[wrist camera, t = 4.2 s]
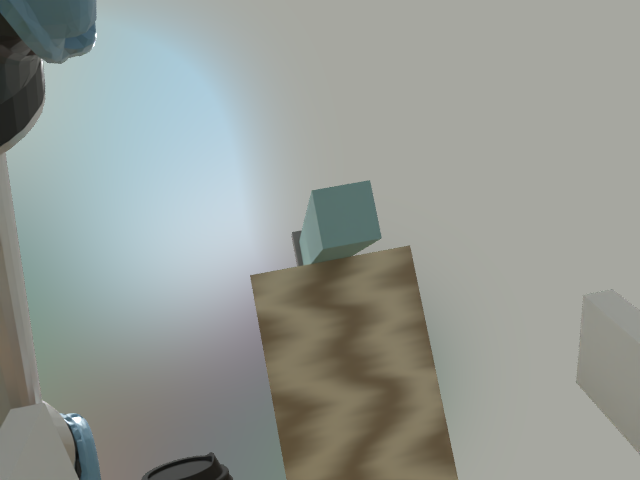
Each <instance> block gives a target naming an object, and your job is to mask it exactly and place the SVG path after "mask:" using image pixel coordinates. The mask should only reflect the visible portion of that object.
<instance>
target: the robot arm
mask: <svg viewBox="0 0 640 480" xmlns="http://www.w3.org/2000/svg"><path fill="white" fill-rule="evenodd" d="M95 21H96V0H0V480H101V476H100V469H99V462H98V456H97V451H96V447H95V443H94V438H93V435H92V432H91V429H90V427H89V425H88V423H87V421H86V420H85V419H84V418H83V417H82V416H80V415H79V414H75V413H71V414H61V413H59V412H58V411H57V410H56V409H54V408H53V407H52V406H50V405H49V404H48V403H46V402H44V401H43V400H42V396H41V390H40V383H39V376H38V370H37V364H36V356H35V350H34V343H33V336H32V330H31V323H30V316H29V309H28V302H27V296H26V289H25V283H24V277H23V269H22V262H21V256H20V249H19V242H18V235H17V228H16V221H15V215H14V208H13V201H12V195H11V188H10V181H9V175H8V167H7V161H6V154H5V152H6V151H8V150H9V149H11V148H12V147H13V146H14V145H15V144H16V143H18V142H19V141H20V140H21V139H22V138H24V137H25V136H26V134H27V133H28V132H29V131H30V130H31V129H32V127H33V126H34V125H35V123H36V122H37V120H38V118H39V116H40V115H41V113H42V110H43V106H44V102H45V79H44V66H43V60H45V61H46V62H47V63H58V64H61V63H63V62H65V61H66V60H67V59H68V58H71V57H75V56H81V55H83V54H86V53H88V52H89V51H90V50H91V49H92V48H93V47H94V44H95V41H96V38H97V37H96V36H97V34H96V29H95ZM576 383H577V384H578V385H579V386H580V387H581V388H582V390H583V391H584V392H585V393H586V394H587V395H588V396H589V398H590V399H591V400H592V401H593V402H594V403H595V404H596V405H597V407H598V408H599V409H600V410H601V411H602V412H603V413H604V414H605V416H606V417H607V418H608V419H609V420H610V421H611V422H612V424H613V425H614V426H615V427H616V428H617V429H618V430H619V431H620V433H621V434H622V435H623V436H624V437H625V438H626V439H627V441H628V442H629V443H630V444H631V445H632V446H633V447H634V448H635V450H636V451H637V452H638V453H639V454H640V310H638V309H637V308H636V307H634V306H633V305H632V304H631V303H629V302H628V301H627V300H626V299H624V298H623V297H622V296H620V295H619V294H618V293H617V292H615V291H614V290H612V289H611V290H606V291H601V292H596V293H591V294H587V295H584V296H583V306H582V319H581V331H580V343H579V356H578V368H577V380H576Z"/></svg>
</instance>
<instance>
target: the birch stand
mask: <svg viewBox="0 0 640 480" xmlns="http://www.w3.org/2000/svg"><path fill="white" fill-rule="evenodd" d="M250 277H251V283H252V289H253V294H254V300H255V305H256V311H257V317H258V322H259V328H260V333H261V339H262V344H263V350H264V356H265V361H266V367H267V372H268V378H269V383H270V389H271V394H272V400H273V406H274V411H275V417H276V423H277V428H278V434H279V439H280V445H281V451H282V456H283V462H284V466H285V473H286V479H287V480H458V477H457V472H456V467H455V462H454V457H453V453H452V448H451V443H450V438H449V433H448V428H447V424H446V419H445V414H444V409H443V404H442V399H441V394H440V389H439V384H438V380H437V375H436V370H435V365H434V360H433V355H432V350H431V346H430V341H429V336H428V331H427V326H426V321H425V317H424V312H423V307H422V302H421V297H420V292H419V287H418V282H417V277H416V273H415V268H414V263H413V258H412V253H411V249H410V246H404V247H399V248H394V249H388V250H383V251H378V252H372V253H367V254H362V255H356V256H351V257H346V258H340V259H335V260H330V261H324V262H319V263H314V264H308V265H303V266H298V267H293V268H287V269H282V270H277V271H271V272H266V273H261V274H255V275H250Z"/></svg>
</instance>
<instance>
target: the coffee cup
mask: <svg viewBox="0 0 640 480" xmlns="http://www.w3.org/2000/svg"><path fill="white" fill-rule="evenodd" d="M142 480H233V478H232V476H231V475H229V470H228V468H227V467H226V466H224V465H222V464H220V463H219V462H218V460H217V458H216V457H215V455H214V453H209V454H208V455H206V456H193V457H187V458H182V459H178V460H175V461H172V462H169V463H166V464H163V465H161V466H158V467H156V468H154V469H152V470H150V471H149V472H147V473H146V474H145V475H144V476H143V478H142Z"/></svg>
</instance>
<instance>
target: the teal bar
mask: <svg viewBox="0 0 640 480" xmlns="http://www.w3.org/2000/svg"><path fill="white" fill-rule="evenodd" d="M380 239H381V233H380V228H379V223H378V218H377V213H376V208H375V203H374V198H373V193H372V188H371V183H370V181H364V182H358V183H352V184H346V185H341V186H335V187H329V188H324V189H318V190H312V192H311V196H310V200H309V204H308V208H307V212H306V216H305V220H304V224H303V228H302V231H297V232H292V240H293V246H294V251H295V257H296V262H297V267H298V266H303V265H308V264H314V263H319V262H324V261H330V260H335V259H340V258H346V257H351V256H353V255H354V254H356V253H358V252H359V251H361V250H363V249H364V248H366V247H368V246H369V245H371V244H373V243H374V242H376V241H378V240H380Z"/></svg>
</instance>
